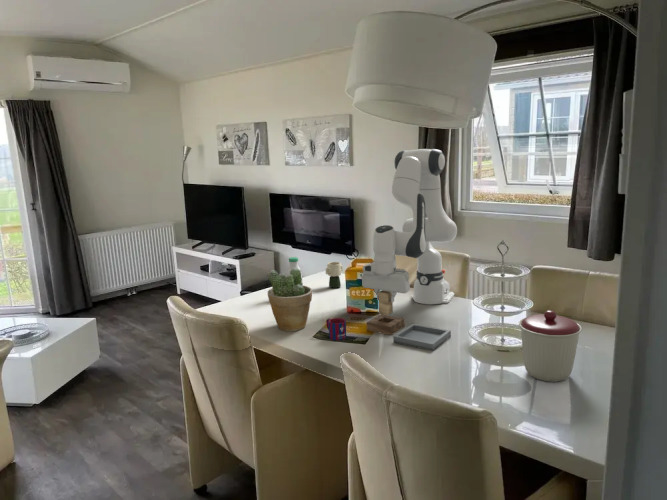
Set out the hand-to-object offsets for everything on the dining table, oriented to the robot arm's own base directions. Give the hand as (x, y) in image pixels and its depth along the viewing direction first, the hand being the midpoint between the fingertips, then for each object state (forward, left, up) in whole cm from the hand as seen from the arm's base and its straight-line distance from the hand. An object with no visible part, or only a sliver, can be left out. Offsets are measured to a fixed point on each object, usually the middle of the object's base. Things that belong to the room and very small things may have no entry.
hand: (385, 300), depth 210 cm
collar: (0, 0, -12) cm, 12 cm away
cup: (+17, -13, -12) cm, 25 cm away
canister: (+12, +65, -12) cm, 67 cm away
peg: (0, 0, -5) cm, 5 cm away
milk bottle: (-17, -61, -12) cm, 64 cm away
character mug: (-41, -54, -12) cm, 69 cm away
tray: (+4, +18, -12) cm, 22 cm away
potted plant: (+17, -35, -12) cm, 41 cm away
